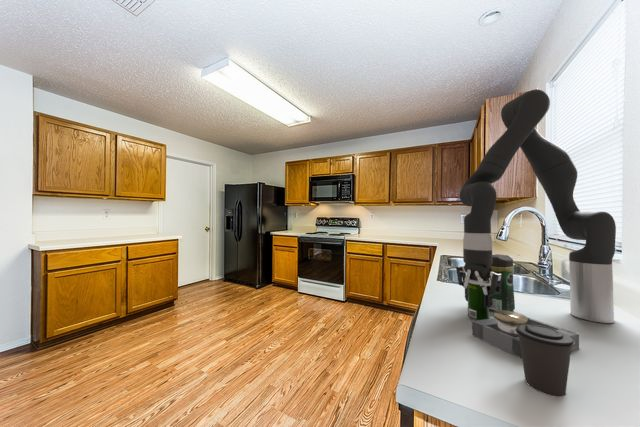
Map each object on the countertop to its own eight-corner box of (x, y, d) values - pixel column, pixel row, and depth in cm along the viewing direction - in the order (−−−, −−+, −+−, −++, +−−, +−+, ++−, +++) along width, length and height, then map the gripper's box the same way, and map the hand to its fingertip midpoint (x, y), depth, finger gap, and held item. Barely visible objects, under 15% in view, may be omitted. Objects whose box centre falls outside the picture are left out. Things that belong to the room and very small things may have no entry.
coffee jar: (492, 303, 91) (491, 252, 91) (518, 310, 84) (517, 255, 85) (478, 308, 86) (477, 253, 86) (505, 315, 79) (504, 256, 80)
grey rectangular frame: (519, 327, 70) (519, 314, 70) (579, 349, 58) (578, 334, 58) (472, 334, 65) (472, 321, 65) (527, 361, 53) (526, 344, 53)
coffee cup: (505, 371, 49) (504, 319, 49) (548, 373, 48) (546, 320, 49) (540, 401, 41) (539, 338, 41) (592, 403, 40) (590, 340, 41)
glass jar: (506, 336, 64) (506, 309, 64) (534, 348, 58) (534, 318, 58) (488, 339, 62) (487, 311, 62) (515, 352, 56) (514, 321, 56)
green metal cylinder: (483, 324, 72) (483, 282, 72) (464, 318, 76) (464, 278, 77) (492, 320, 75) (491, 280, 75) (473, 315, 79) (472, 276, 80)
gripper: (510, 250, 71) (511, 311, 70) (466, 245, 84) (466, 296, 84) (490, 250, 68) (491, 313, 68) (448, 246, 82) (449, 298, 81)
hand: (478, 303), depth 76 cm, fingers closed on green metal cylinder, 5 cm apart
